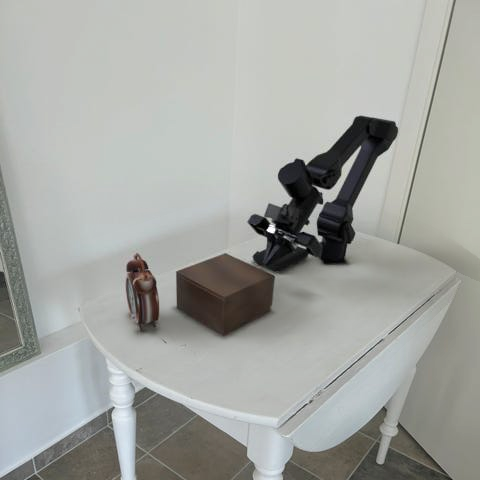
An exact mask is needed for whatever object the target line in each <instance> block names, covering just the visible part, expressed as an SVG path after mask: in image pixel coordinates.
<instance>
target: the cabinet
mask: <svg viewBox="0 0 480 480" xmlns="http://www.w3.org/2000/svg"><path fill="white" fill-rule="evenodd" d="M274 276H275V275H274V274H272V273H270V272H268V271H266V270H264V269H261V268H259V267H257V266H255V265H253V264H250V263H248V262H246V261H244V260H242V259H240V258H237V257H235V256H233V255H231V254H228V253H225V252H224V253H221V254H219V255H217V256H214V257H211V258H209V259H205V260H202V261H200V262H198V263H195V264H191V265H189V266H186V267H184V268H181V269H177V270H176V271H175V280H176V281H175V285H176V286H175V287H176V290H175V291H176V309H177V310H179V311H180V312H182V313H183V314H185V315H187V316H188V317H190V318H192V319H193V320H195V321H197V322H199V323H200V324H202V325H203V326H205V327H207V328H209V329H211V330H212V331H213V332H215V333H217V334H218V335H220V336H222V337H225V336H226V335H228V334H230V333H233V332H234V331H236V330H239V329H241V328H242V327H244V326H246V325H247V324H249V323H251V322H253V321H255V320H258V319H259V318H261V317H263V316H265V315H267V314H269V313H271V307H272V306H271V298H272V288H273V278H274Z"/></svg>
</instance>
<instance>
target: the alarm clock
mask: <svg viewBox="0 0 480 480" xmlns="http://www.w3.org/2000/svg"><path fill="white" fill-rule="evenodd" d="M125 271H126V276H125V281H124V283H125V295H126V302H127V306H128V310H129V314H130V317H131V320H132V321H133V322H134V323H135V324H136V325H138V328H139V332H142V331H143V329H142V324H150V323H152V326H153V327H154V328H156V322H157V321H158V320H159V318H160V297H159V291H158V287H157V280H156V278H155V276H154V275H153V273H152V272H151V270H150V269H149V265H148V263H147V261H146V260H144V259H143V258H142V257H141V255H140V254H139V253H137V252H136V253H135V255H133V259H131V260H129V261H128V262H127V263H126V266H125Z"/></svg>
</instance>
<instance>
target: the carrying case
mask: <svg viewBox="0 0 480 480" xmlns="http://www.w3.org/2000/svg"><path fill="white" fill-rule="evenodd" d="M296 250H297V251H296V252H291V253H289V254H288V255H286V256H284V257H282V258H280V259H279V260H277V261H276V262H274V263H273V264H271V265H270V266H268V267H265V266H264V265H263V261H264V256H265V252H266V248H265V249H263V250H260V251H259V250H256V252H255V253H254V254H253V255H252V260H253V262H254V263H256V264H257V265H258V266H261V267H264V268H265V269H268V270H271V271H273V272H275V273H276V272H277V273H278V272H283V271H284V270H286V269H288V268H290V267H292V266H294V265H297V264H298V263H301V262H303V261H305V259H307V258H308V257H309V254H307V252H306V248H305V247H303V246H300V245H298V246H297V247H296Z"/></svg>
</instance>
